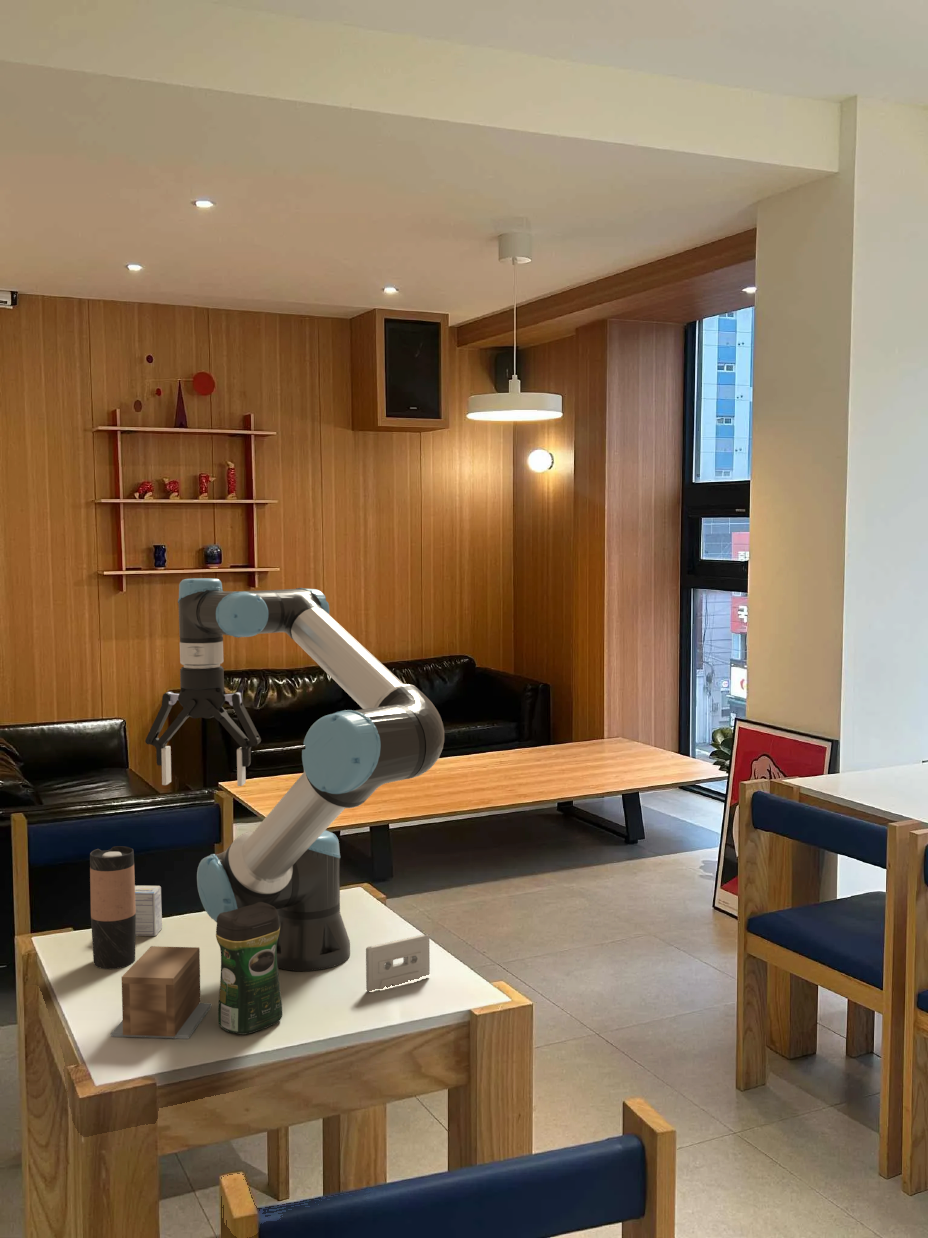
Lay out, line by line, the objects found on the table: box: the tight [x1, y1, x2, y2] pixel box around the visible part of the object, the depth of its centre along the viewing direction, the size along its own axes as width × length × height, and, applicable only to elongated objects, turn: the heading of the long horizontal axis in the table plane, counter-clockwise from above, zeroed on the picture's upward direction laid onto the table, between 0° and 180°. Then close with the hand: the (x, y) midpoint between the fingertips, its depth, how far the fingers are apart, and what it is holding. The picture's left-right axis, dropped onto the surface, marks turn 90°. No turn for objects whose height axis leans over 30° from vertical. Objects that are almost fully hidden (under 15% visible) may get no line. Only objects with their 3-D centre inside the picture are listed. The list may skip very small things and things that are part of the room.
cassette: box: [365, 933, 431, 992], centre depth 195 cm, size 12×2×8 cm, turn 123°
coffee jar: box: [215, 902, 283, 1035], centre depth 179 cm, size 10×8×19 cm
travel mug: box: [89, 845, 137, 970], centre depth 205 cm, size 8×8×20 cm
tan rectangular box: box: [121, 945, 202, 1036], centre depth 180 cm, size 8×13×9 cm, turn 176°
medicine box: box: [135, 885, 163, 937], centre depth 221 cm, size 8×4×9 cm, turn 88°
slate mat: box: [110, 1002, 212, 1040], centre depth 181 cm, size 12×12×1 cm
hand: (204, 784), depth 205 cm, fingers open, 13 cm apart
